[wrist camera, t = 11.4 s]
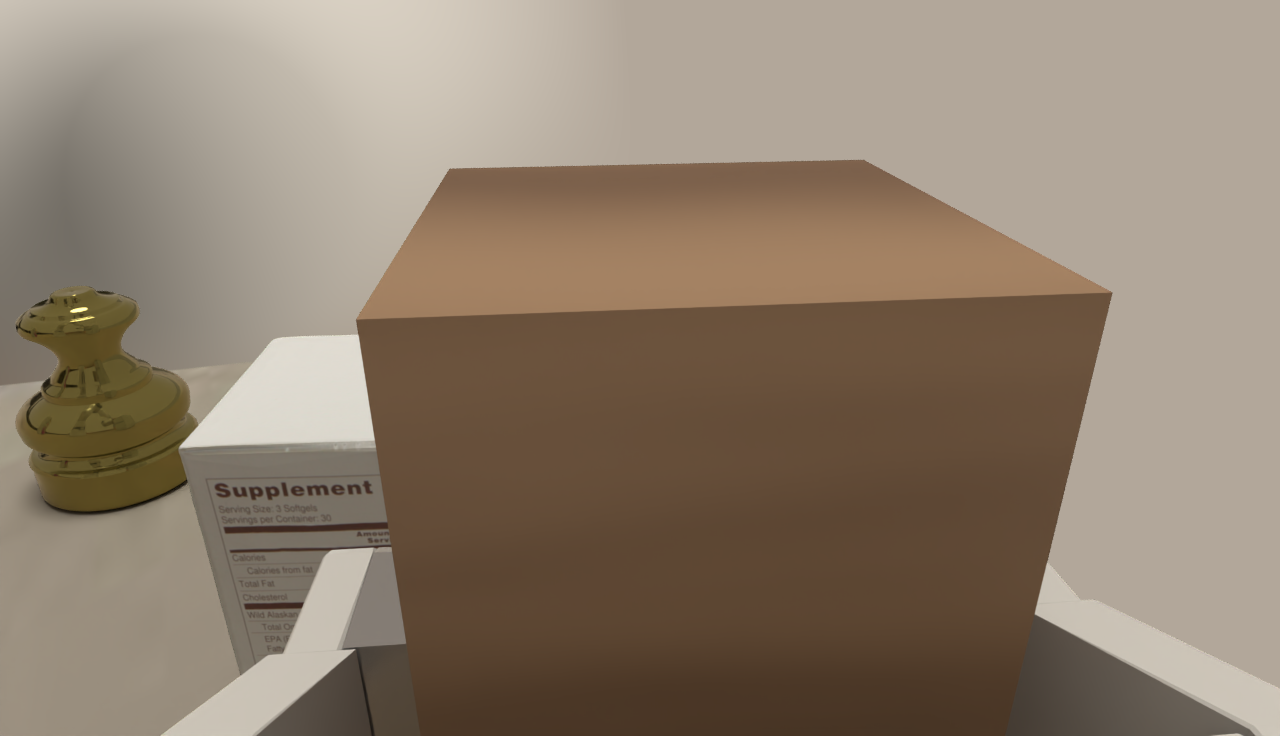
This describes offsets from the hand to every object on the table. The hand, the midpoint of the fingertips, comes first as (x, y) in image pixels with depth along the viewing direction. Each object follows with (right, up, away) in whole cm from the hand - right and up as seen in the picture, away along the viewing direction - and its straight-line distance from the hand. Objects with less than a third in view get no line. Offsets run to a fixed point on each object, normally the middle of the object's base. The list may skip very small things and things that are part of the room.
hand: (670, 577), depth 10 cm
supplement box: (-8, -9, +19) cm, 23 cm away
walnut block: (0, -5, +1) cm, 6 cm away
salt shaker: (-27, -3, +33) cm, 43 cm away
